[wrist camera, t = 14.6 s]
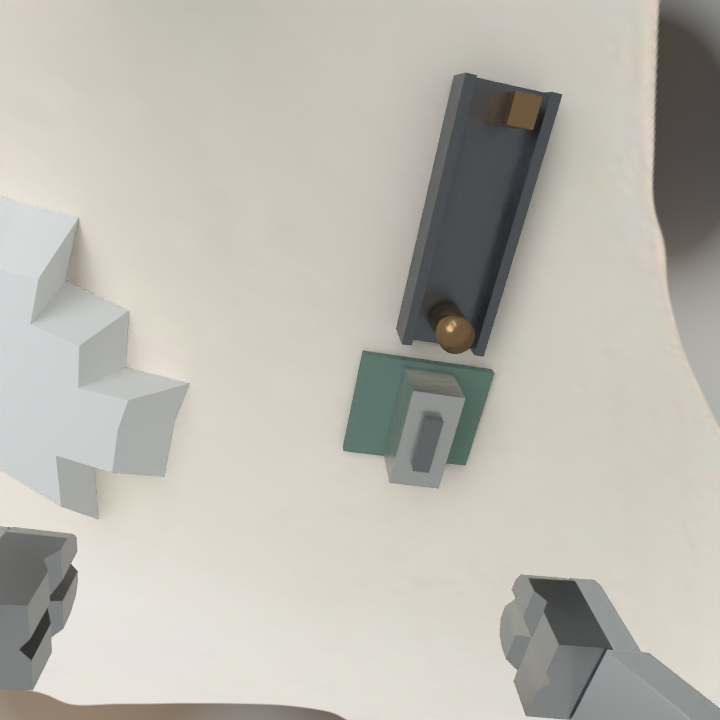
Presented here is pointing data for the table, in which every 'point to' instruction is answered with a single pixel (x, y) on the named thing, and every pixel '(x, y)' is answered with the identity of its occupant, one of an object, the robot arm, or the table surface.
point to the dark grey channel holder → (474, 211)
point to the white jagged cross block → (70, 372)
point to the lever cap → (422, 426)
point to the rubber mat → (380, 394)
